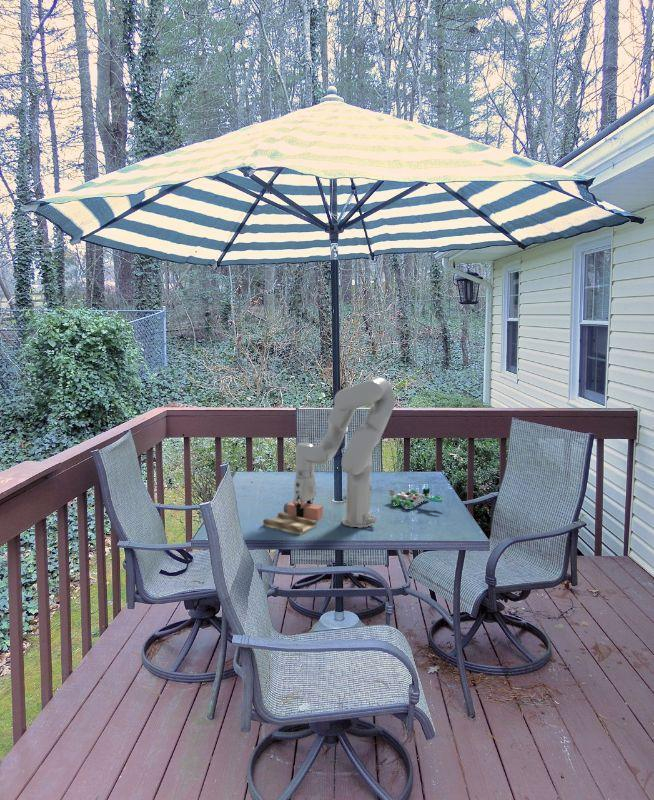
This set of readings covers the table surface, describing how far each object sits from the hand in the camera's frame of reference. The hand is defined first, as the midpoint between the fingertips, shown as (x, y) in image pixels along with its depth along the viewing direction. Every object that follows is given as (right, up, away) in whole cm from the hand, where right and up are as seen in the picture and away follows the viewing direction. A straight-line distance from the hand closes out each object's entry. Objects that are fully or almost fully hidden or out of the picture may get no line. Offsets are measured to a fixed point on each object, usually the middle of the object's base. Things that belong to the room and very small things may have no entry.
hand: (304, 514), depth 249 cm
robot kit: (+51, 0, +17) cm, 53 cm away
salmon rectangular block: (0, -1, 0) cm, 1 cm away
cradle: (-5, -2, -12) cm, 13 cm away
